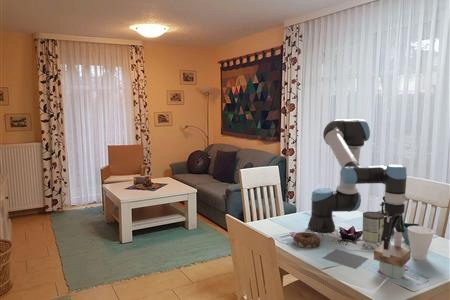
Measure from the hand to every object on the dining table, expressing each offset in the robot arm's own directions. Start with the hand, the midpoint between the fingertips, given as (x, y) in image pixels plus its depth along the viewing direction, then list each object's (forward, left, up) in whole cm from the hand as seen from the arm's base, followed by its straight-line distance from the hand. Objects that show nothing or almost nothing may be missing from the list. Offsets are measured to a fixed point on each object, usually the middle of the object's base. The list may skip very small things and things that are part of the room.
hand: (392, 251), depth 143 cm
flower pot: (-4, +41, -10) cm, 42 cm away
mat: (-20, -1, -9) cm, 22 cm away
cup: (+4, +24, -10) cm, 26 cm away
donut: (-42, +3, -10) cm, 43 cm away
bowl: (0, 0, -9) cm, 9 cm away
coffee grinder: (-23, +52, -10) cm, 57 cm away
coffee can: (-20, +31, -10) cm, 38 cm away
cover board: (0, 0, -3) cm, 3 cm away
